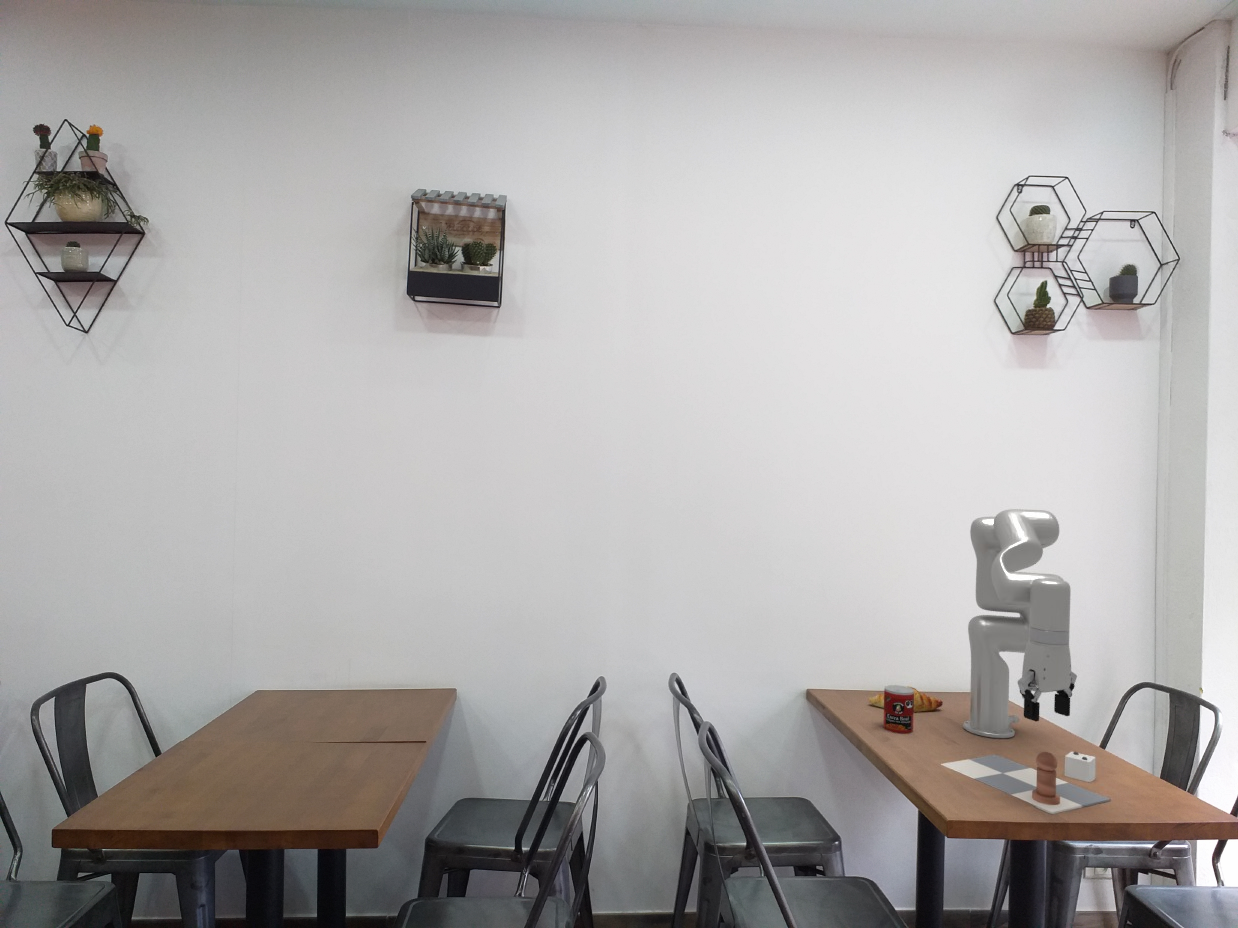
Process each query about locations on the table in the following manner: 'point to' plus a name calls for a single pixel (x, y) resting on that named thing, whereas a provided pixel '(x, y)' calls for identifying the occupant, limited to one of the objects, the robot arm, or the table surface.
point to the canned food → (898, 708)
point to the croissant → (920, 701)
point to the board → (1023, 782)
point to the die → (1080, 766)
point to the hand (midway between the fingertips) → (1046, 716)
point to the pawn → (1046, 780)
